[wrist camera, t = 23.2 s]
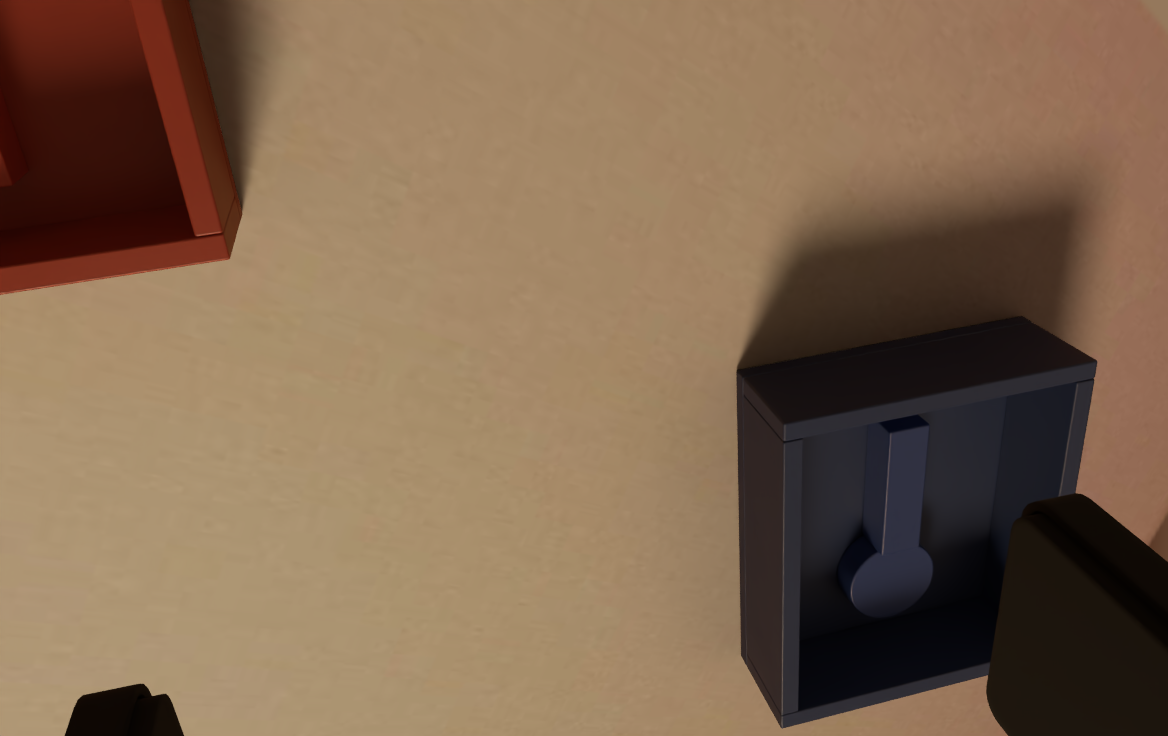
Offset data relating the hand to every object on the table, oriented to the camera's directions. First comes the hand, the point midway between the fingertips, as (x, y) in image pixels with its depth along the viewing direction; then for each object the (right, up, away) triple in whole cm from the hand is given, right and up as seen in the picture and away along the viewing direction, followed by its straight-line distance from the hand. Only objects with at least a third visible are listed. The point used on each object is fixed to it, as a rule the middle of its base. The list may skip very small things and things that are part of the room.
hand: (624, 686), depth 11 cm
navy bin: (+11, -2, +28) cm, 30 cm away
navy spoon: (+11, -2, +27) cm, 30 cm away
